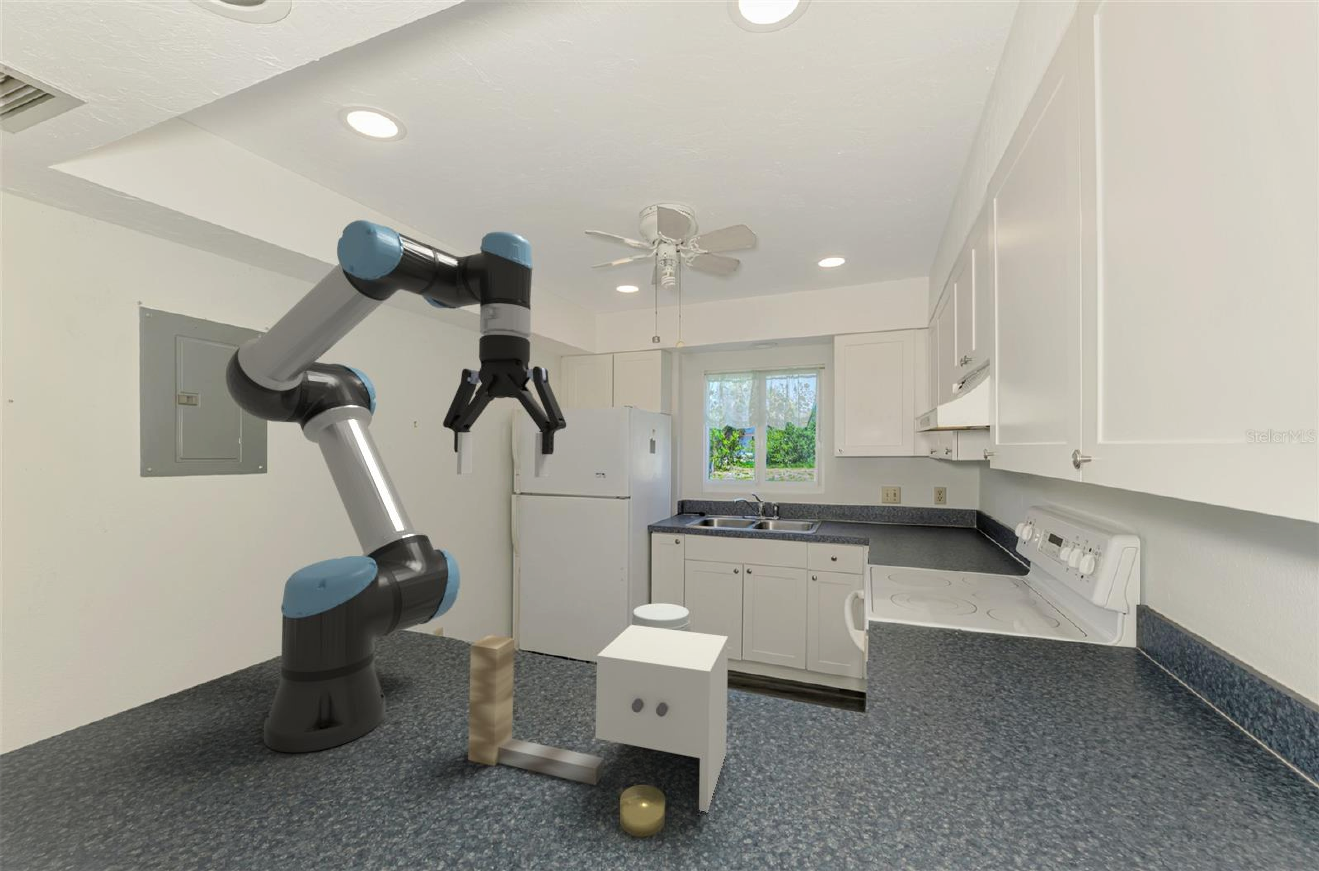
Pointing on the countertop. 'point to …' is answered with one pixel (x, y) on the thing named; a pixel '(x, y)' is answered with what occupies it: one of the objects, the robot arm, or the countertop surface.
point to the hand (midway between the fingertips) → (502, 475)
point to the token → (642, 810)
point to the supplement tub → (662, 617)
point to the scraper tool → (496, 717)
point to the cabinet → (666, 696)
